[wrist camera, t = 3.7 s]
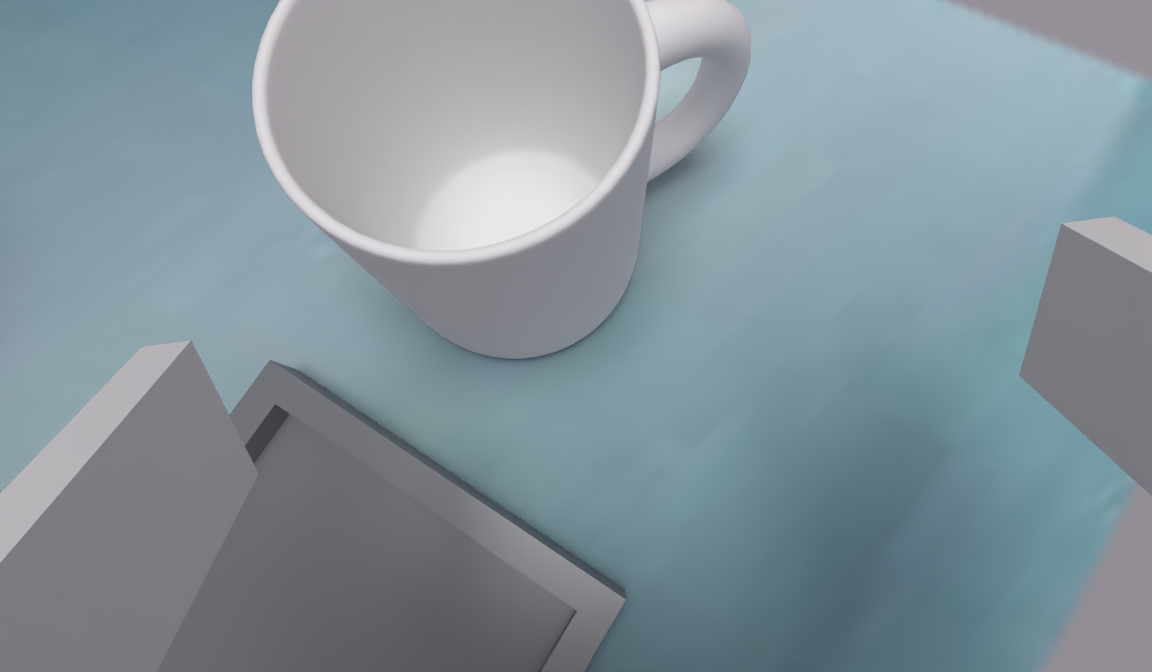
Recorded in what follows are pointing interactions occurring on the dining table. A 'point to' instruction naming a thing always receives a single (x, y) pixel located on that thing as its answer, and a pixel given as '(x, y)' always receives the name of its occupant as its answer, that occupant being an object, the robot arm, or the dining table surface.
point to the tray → (378, 559)
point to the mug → (489, 146)
